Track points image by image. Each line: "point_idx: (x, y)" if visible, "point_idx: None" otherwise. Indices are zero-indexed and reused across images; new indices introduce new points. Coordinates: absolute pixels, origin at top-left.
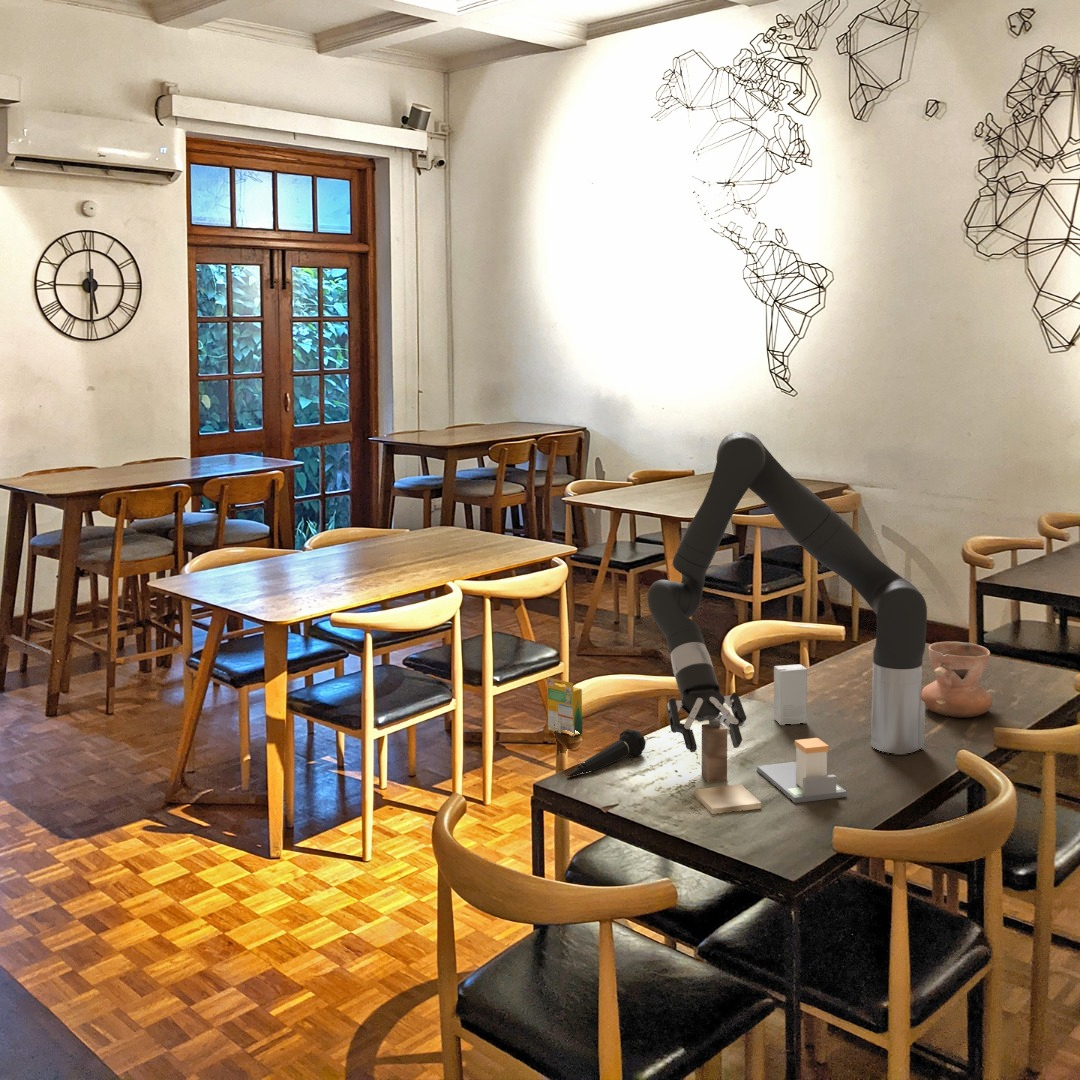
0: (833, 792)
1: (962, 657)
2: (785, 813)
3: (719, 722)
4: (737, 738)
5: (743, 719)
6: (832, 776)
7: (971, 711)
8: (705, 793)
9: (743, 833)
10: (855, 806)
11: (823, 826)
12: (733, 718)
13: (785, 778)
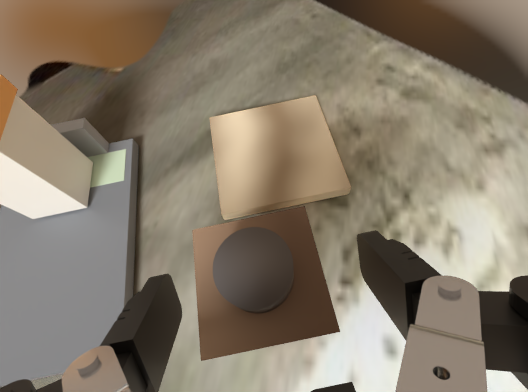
0: None
1: None
2: (176, 107)
3: (223, 246)
4: (153, 285)
5: (18, 384)
6: None
7: None
8: (322, 163)
9: (272, 47)
10: None
11: (138, 68)
12: (82, 384)
13: (93, 243)
